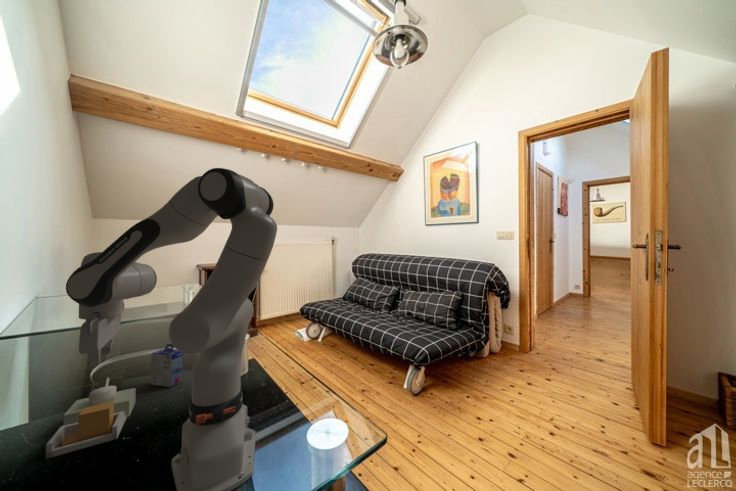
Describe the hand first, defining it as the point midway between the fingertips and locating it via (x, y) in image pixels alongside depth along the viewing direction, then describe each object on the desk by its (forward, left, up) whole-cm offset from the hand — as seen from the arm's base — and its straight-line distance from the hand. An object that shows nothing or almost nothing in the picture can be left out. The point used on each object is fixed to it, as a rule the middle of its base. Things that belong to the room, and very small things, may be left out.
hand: (101, 358), depth 74 cm
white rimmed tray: (+6, +2, -21) cm, 22 cm away
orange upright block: (0, +2, -21) cm, 21 cm away
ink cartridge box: (+27, -12, -22) cm, 36 cm away
